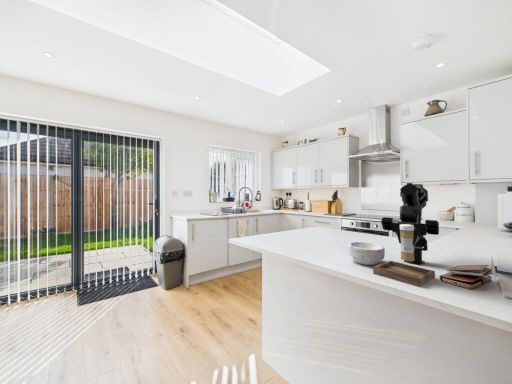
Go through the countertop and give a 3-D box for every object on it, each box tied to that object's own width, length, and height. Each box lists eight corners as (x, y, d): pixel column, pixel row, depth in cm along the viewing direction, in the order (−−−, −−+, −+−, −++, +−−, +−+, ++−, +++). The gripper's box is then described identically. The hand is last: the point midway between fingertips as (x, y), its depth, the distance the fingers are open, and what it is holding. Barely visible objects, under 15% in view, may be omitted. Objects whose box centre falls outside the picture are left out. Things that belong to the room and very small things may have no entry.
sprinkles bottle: (416, 259, 89) (415, 224, 89) (412, 262, 86) (412, 226, 86) (402, 257, 92) (401, 223, 92) (398, 260, 89) (397, 224, 89)
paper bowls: (389, 268, 99) (389, 249, 99) (351, 266, 102) (351, 248, 102) (378, 258, 114) (378, 242, 114) (345, 256, 117) (345, 240, 117)
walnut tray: (390, 266, 101) (390, 260, 101) (434, 278, 88) (434, 271, 88) (373, 273, 93) (373, 266, 93) (419, 286, 80) (419, 279, 80)
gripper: (381, 197, 97) (375, 228, 89) (438, 198, 86) (437, 233, 77) (386, 214, 104) (380, 244, 95) (439, 217, 92) (438, 252, 84)
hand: (406, 243), depth 88 cm, fingers closed on sprinkles bottle, 4 cm apart
